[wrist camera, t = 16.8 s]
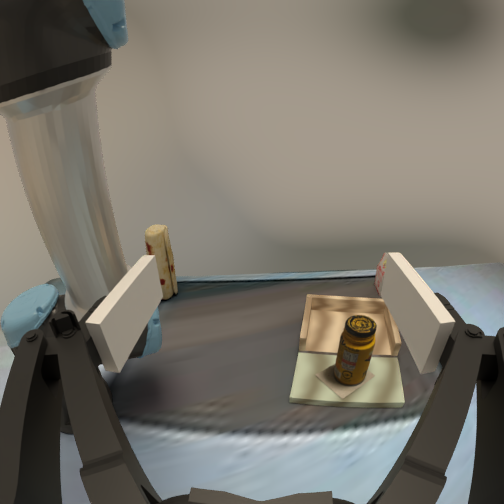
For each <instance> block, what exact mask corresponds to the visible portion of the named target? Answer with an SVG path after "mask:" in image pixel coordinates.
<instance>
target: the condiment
mask: <svg viewBox="0 0 504 504" xmlns="http://www.w3.org/2000/svg"><path fill="white" fill-rule="evenodd" d="M376 328H377V325H376V323H375V321H374V320H373V319H371V318H370V317H369V316H365V315H354V316H351V317H349V318H348V319H347V320H346V322H345V327H344V329H343V330H344V331H343V332H342V333H341V336H340V341H339V347H338V352H337V358H336V363H335V364H334V365H332V366H330V367H328V368H326V369H325V370H323V371H321V372H319V373H317V374H316V376H317V377H318V378H319V379H320V380H321V381H322V382H324V384H325V385H327V386H328V387H329V388H330V389H331V390H332V391H334V392H335V393H336V394H337V395H338V396H340V397H341V398H342V399H343V398H345V397H346V396H348V395H349V394H350V393H352V392H353V391H355V390H356V389H358V388H359V387H361V386H362V385H364V384H365V383H366V382H368V381H369V380H370V379H372V378H373V377H374V376H375V375H374V374H372V373H371V372H370V371H368V367H369V364H370V360H371V356H372V353H373V349H374V346H375V341H376V340H375V332H376Z"/></svg>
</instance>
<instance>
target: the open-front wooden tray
mask: <svg viewBox="0 0 504 504" xmlns="http://www.w3.org/2000/svg"><path fill="white" fill-rule="evenodd" d="M354 315H365V316H369V317H370V318H371V319H373V320H374V321H375V323H376V325H377V328H376V332H375V340H376V341H375V346H374V349H373V353H372V356H371V360H370V364H369V367H368V371H370V372H371V373H372V374H374V375H375V376H374V377H373V378H372V379H370V380H369V381H368V382H366V383H365V384H364V385H362V386H361V387H359V388H358V389H356V390H355V391H353V392H352V393H350V394H349V395H348V396H346V397H345V398H343V399H342V398H341V397H340V396H338V395H337V394H336V393H335V392H334V391H332V390H331V389H330V388H329V387H328V386H327V385H325V384H324V382H322V381H321V380H320V379H319V378H318V377H317V376H316V374H317V373H319V372H321V371H323V370H325V369H326V368H328V367H330V366H332V365H334V364H335V363H336V358H337V352H338V347H339V341H340V336H341V333H342V332H343V331H344V330H343V329H344V327H345V322H346V320H347V319H348V318H349V317H351V316H354ZM400 346H401V339H400V335H399V331H398V327H397V325H396V323H395V321H394V319H393V317H392V315H391V313H390V311H389V309H388V308H387V306H386V304H385V302H384V300H383V299H376V298H357V297H340V296H325V295H310V294H307V299H306V306H305V312H304V317H303V323H302V329H301V334H300V343H299V354H298V359H297V364H296V369H295V374H294V379H293V384H292V389H291V394H290V401H289V402H290V403H299V404H309V405H321V406H336V407H360V408H402V407H403V405H404V403H405V401H404V394H403V388H402V381H401V375H400V369H399V364H398V358H397V355H398V352H399V349H400Z"/></svg>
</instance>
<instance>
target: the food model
mask: <svg viewBox="0 0 504 504" xmlns="http://www.w3.org/2000/svg"><path fill="white" fill-rule="evenodd" d="M145 243H146V252H147V255H155V258H156V263H157V268H158V274H159V279H160V284H161V288H162V293H163V298H162V299H164V300H166V299H169V298H170V297H171V296H172V295H173V293H175V294H177V282H176V276H175V269H174V260H173V254H172V250H171V245H170V240H169V235H168V229H167V226H165V225H153V226H151V227H149V228H148V229H147V230H146V232H145Z"/></svg>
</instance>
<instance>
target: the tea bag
mask: <svg viewBox="0 0 504 504" xmlns="http://www.w3.org/2000/svg"><path fill="white" fill-rule="evenodd" d="M386 262H387V254H386V253H384V255H383V257H382V259H381V261H380V262H379V264H378V265H377V272H376V278H375V286H376V289H377V291H378V293H379V296H381V291H382V286H383V280H384V274H385V268H386Z"/></svg>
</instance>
